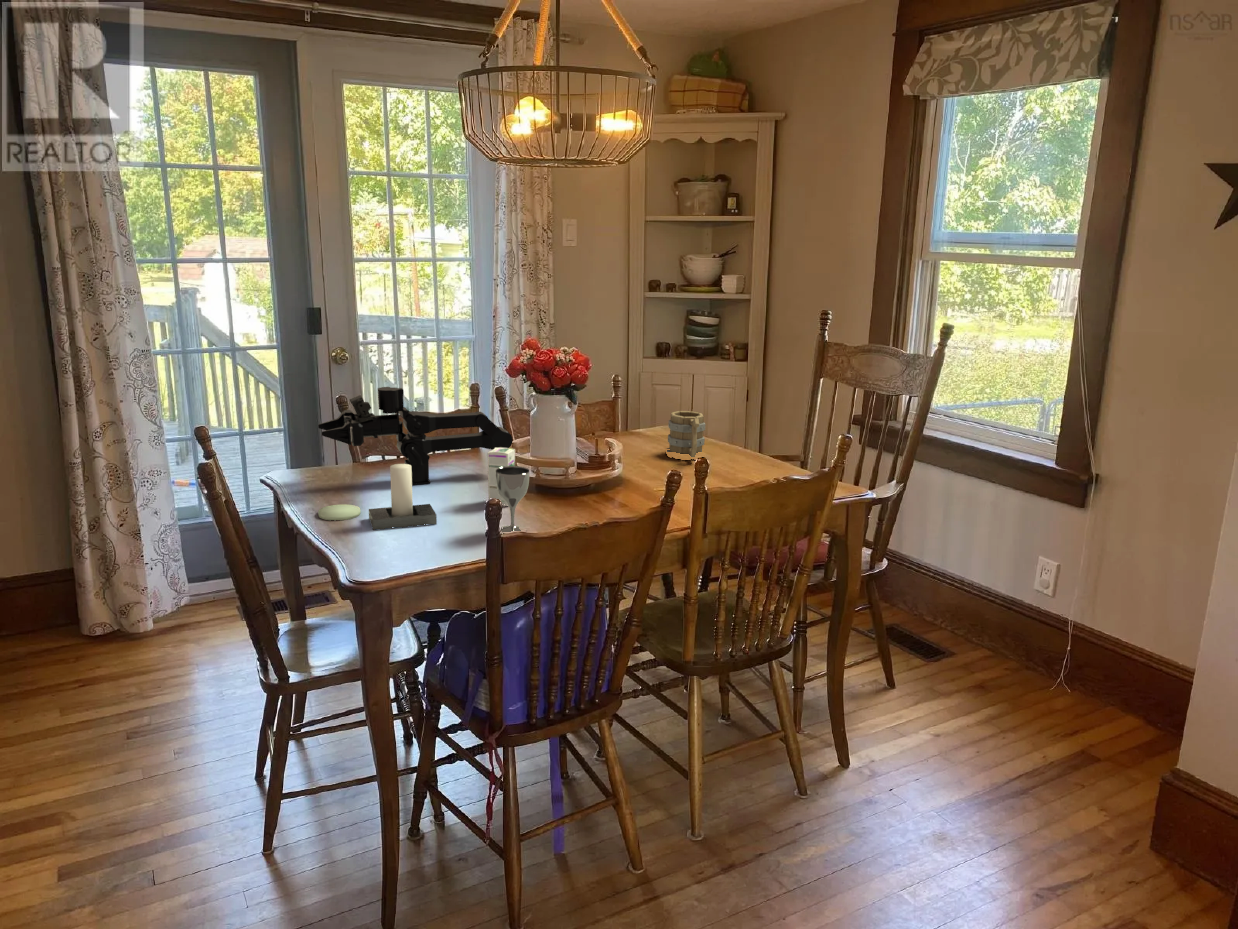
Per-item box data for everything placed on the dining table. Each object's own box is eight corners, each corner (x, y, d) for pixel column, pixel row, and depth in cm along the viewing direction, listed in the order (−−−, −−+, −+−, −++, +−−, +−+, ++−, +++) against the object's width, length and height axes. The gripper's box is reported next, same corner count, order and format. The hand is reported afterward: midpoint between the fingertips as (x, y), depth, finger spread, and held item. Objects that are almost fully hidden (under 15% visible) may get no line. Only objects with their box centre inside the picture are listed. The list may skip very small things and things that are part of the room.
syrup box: (509, 507, 231) (509, 453, 227) (487, 505, 232) (487, 451, 229) (516, 500, 237) (515, 448, 233) (494, 499, 238) (494, 446, 234)
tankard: (663, 451, 295) (665, 406, 291) (700, 451, 297) (702, 407, 293) (673, 466, 276) (675, 419, 272) (712, 466, 277) (715, 419, 274)
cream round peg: (411, 517, 221) (409, 463, 217) (414, 523, 216) (412, 468, 213) (390, 519, 219) (388, 464, 215) (393, 525, 214) (391, 469, 211)
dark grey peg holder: (430, 513, 224) (429, 503, 224) (436, 524, 216) (436, 514, 216) (369, 518, 219) (368, 508, 218) (373, 530, 211) (372, 520, 210)
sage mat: (358, 506, 228) (358, 503, 227) (362, 518, 219) (362, 514, 218) (317, 510, 224) (317, 506, 224) (319, 522, 215) (319, 518, 215)
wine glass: (496, 524, 217) (496, 465, 213) (529, 525, 218) (529, 466, 214) (495, 535, 209) (494, 474, 206) (528, 535, 210) (529, 474, 206)
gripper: (372, 390, 249) (314, 394, 243) (383, 403, 233) (321, 407, 227) (375, 429, 252) (317, 433, 246) (385, 444, 236) (324, 449, 230)
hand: (319, 429), depth 237 cm, fingers open, 9 cm apart
